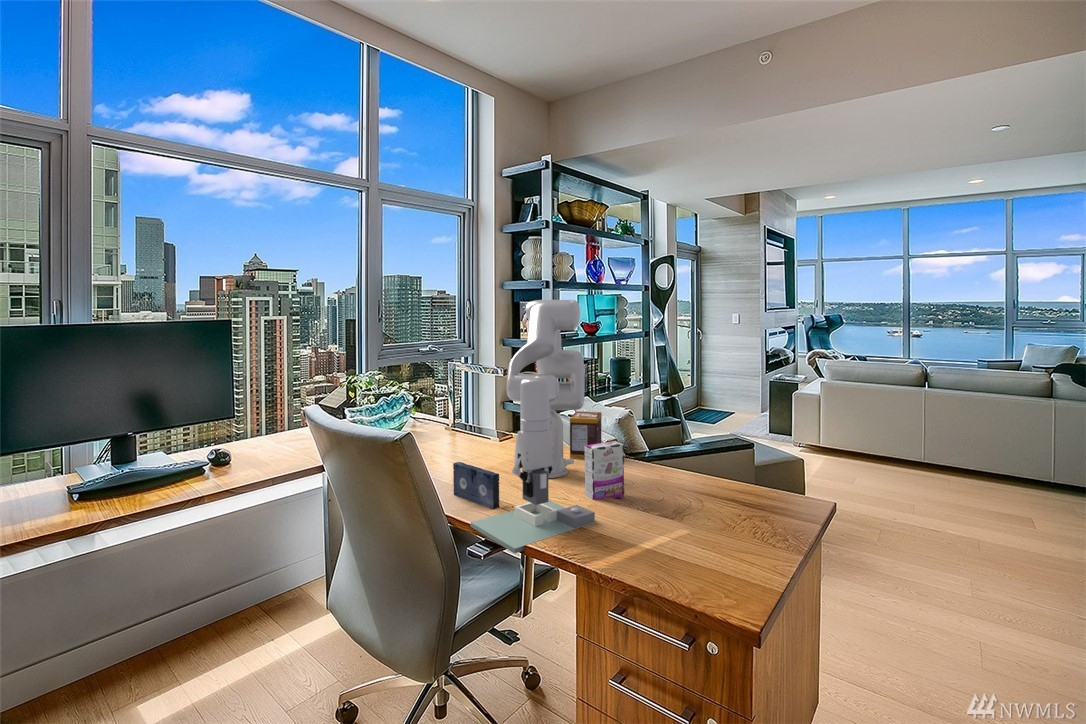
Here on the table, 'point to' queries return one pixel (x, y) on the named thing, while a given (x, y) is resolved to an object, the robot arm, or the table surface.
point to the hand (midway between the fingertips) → (535, 493)
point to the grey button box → (575, 516)
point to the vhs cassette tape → (476, 485)
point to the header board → (523, 525)
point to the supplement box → (584, 432)
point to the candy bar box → (604, 470)
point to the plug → (538, 487)
